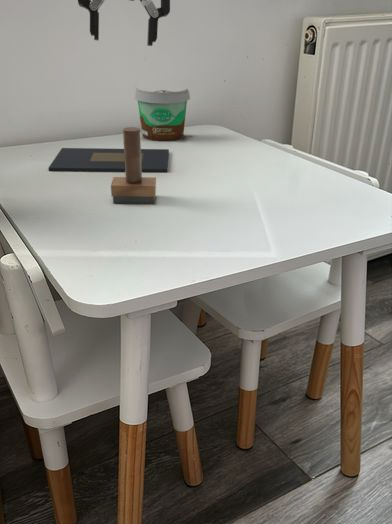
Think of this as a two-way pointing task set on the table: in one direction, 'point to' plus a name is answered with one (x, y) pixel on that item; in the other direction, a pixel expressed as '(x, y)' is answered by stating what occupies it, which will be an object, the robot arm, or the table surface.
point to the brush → (133, 174)
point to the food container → (162, 114)
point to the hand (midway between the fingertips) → (123, 42)
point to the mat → (107, 160)
